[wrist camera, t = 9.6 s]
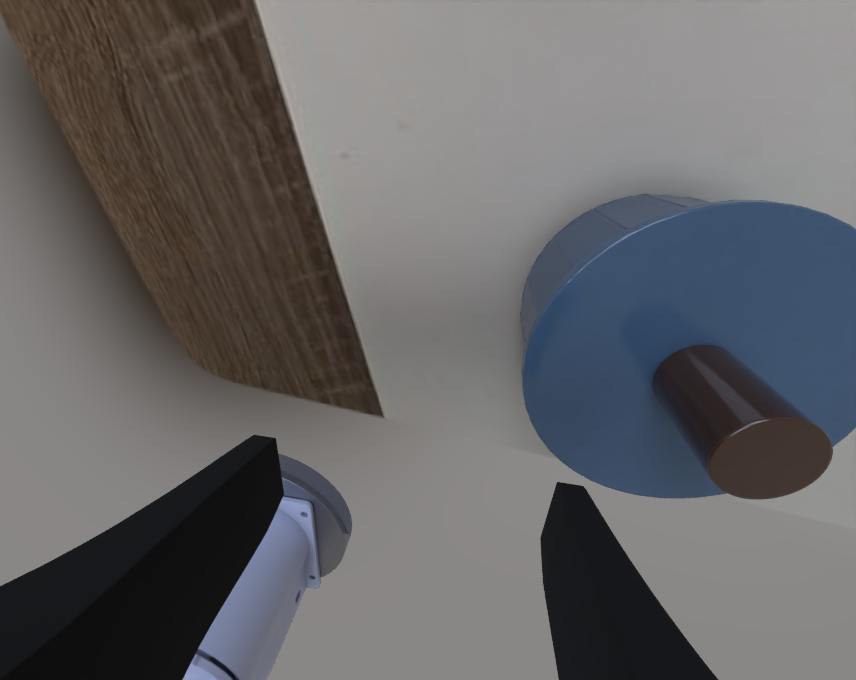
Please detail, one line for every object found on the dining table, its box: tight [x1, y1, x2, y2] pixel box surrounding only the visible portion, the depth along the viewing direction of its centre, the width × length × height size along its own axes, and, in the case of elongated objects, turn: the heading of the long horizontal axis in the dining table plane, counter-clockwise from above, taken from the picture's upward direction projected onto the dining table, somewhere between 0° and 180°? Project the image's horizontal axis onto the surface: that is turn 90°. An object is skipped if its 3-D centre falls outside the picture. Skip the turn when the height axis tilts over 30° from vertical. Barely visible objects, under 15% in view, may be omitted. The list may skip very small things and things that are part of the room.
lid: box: [522, 200, 856, 499], centre depth 11 cm, size 10×10×5 cm
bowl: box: [520, 194, 710, 345], centre depth 15 cm, size 9×9×6 cm
